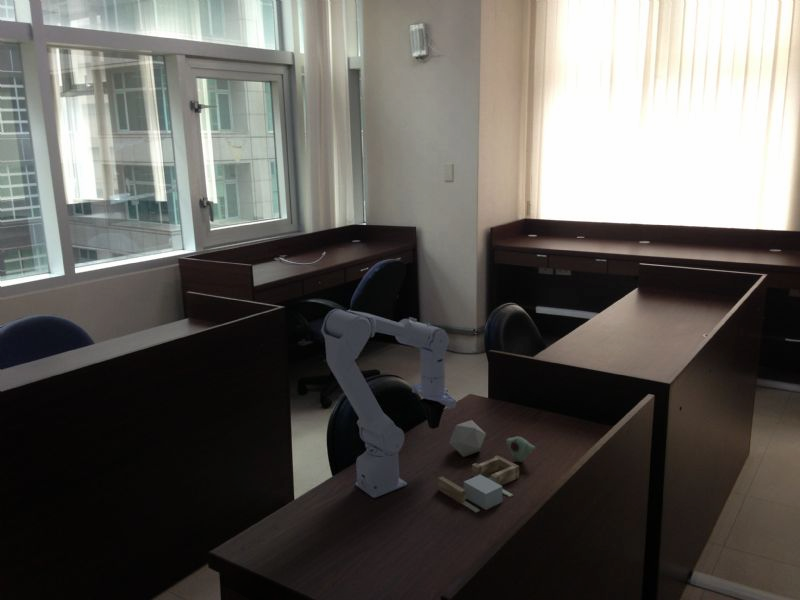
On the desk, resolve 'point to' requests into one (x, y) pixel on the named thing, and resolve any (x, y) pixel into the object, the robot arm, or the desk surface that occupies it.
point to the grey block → (483, 491)
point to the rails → (477, 508)
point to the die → (467, 438)
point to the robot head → (519, 448)
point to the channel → (491, 469)
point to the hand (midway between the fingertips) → (433, 427)
